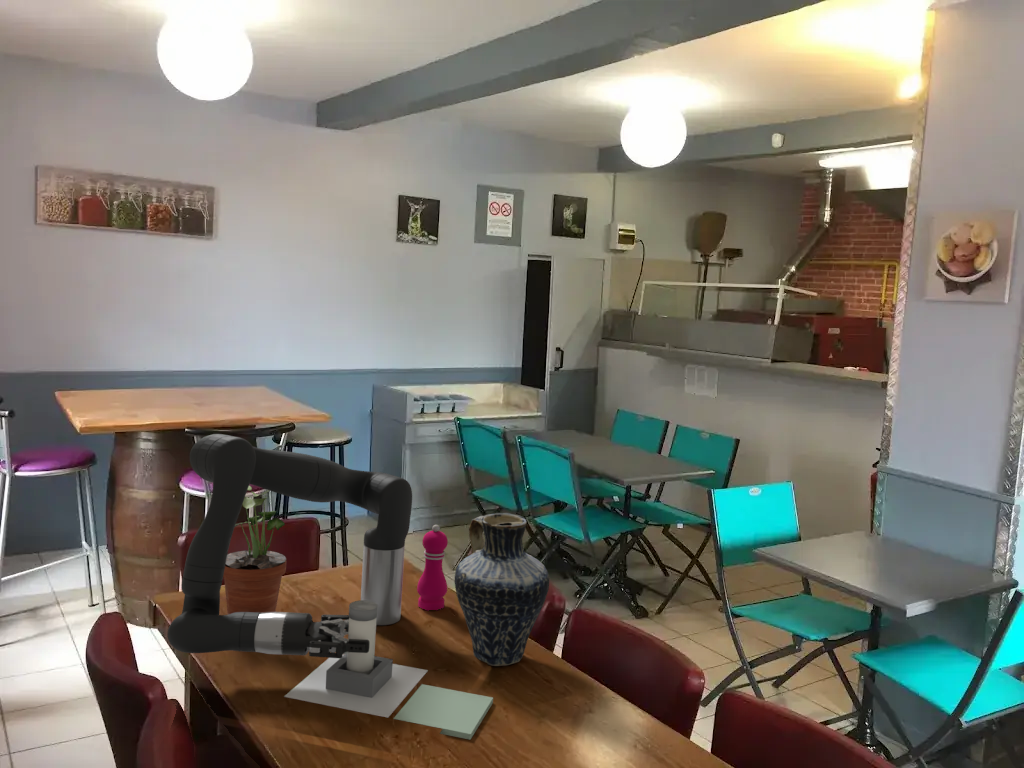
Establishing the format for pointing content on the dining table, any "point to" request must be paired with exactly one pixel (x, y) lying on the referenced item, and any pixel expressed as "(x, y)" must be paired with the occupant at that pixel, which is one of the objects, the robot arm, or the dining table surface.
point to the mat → (446, 710)
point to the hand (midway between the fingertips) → (371, 636)
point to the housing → (358, 686)
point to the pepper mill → (433, 571)
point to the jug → (500, 588)
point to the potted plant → (255, 567)
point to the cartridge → (362, 635)
